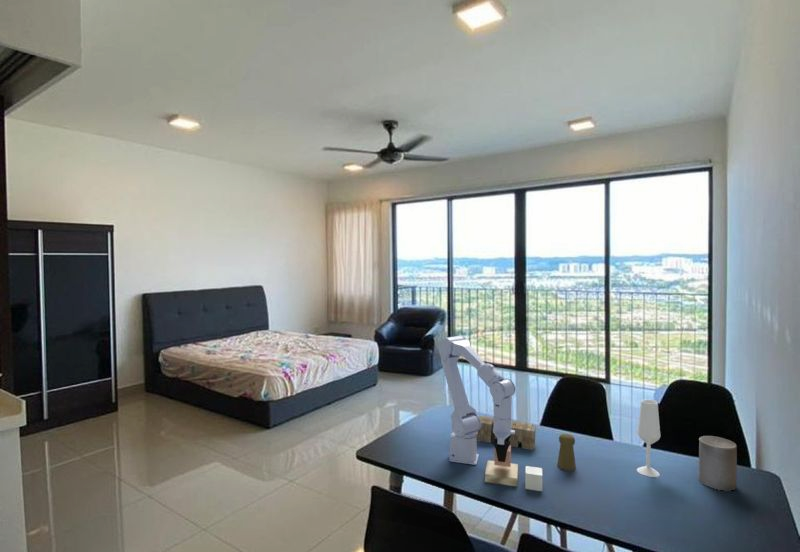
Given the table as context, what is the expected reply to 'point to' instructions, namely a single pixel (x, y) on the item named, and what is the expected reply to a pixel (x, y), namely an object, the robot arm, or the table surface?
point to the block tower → (522, 434)
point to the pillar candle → (718, 463)
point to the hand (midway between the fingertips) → (502, 457)
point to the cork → (566, 452)
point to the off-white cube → (533, 478)
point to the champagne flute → (648, 432)
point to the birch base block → (501, 474)
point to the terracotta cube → (507, 460)
